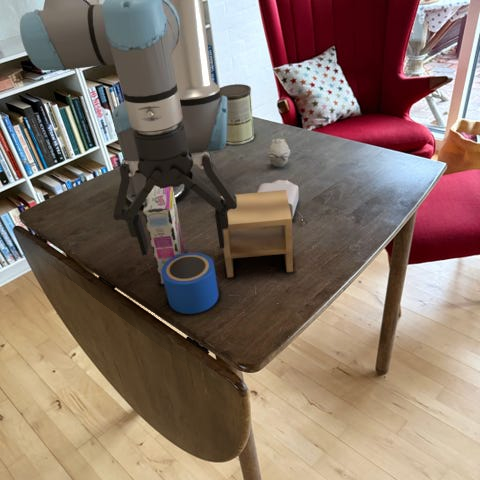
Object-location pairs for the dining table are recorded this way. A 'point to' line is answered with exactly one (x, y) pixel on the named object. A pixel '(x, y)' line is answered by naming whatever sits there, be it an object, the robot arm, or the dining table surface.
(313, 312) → the dining table surface
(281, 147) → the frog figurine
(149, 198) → the candy bar box
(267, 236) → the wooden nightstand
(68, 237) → the dining table surface
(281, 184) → the charger
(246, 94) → the coffee can
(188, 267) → the tape roll
